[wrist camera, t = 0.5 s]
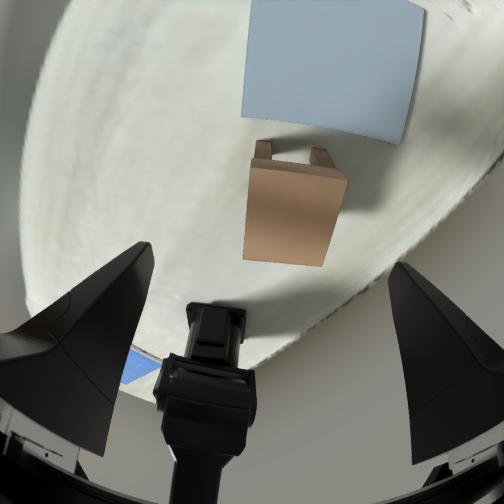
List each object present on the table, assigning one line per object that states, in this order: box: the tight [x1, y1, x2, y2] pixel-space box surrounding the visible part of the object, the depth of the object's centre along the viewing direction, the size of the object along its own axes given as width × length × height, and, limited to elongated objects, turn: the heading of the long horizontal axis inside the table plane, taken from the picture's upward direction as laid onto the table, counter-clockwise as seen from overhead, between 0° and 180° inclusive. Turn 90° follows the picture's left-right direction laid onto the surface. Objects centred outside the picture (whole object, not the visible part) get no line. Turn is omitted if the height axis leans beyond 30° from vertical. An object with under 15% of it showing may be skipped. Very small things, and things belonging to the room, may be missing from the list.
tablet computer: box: [121, 344, 163, 384], centre depth 41 cm, size 19×13×1 cm, turn 137°
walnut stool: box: [243, 141, 348, 267], centre depth 17 cm, size 6×5×6 cm
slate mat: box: [241, 0, 424, 145], centre depth 13 cm, size 11×11×1 cm
